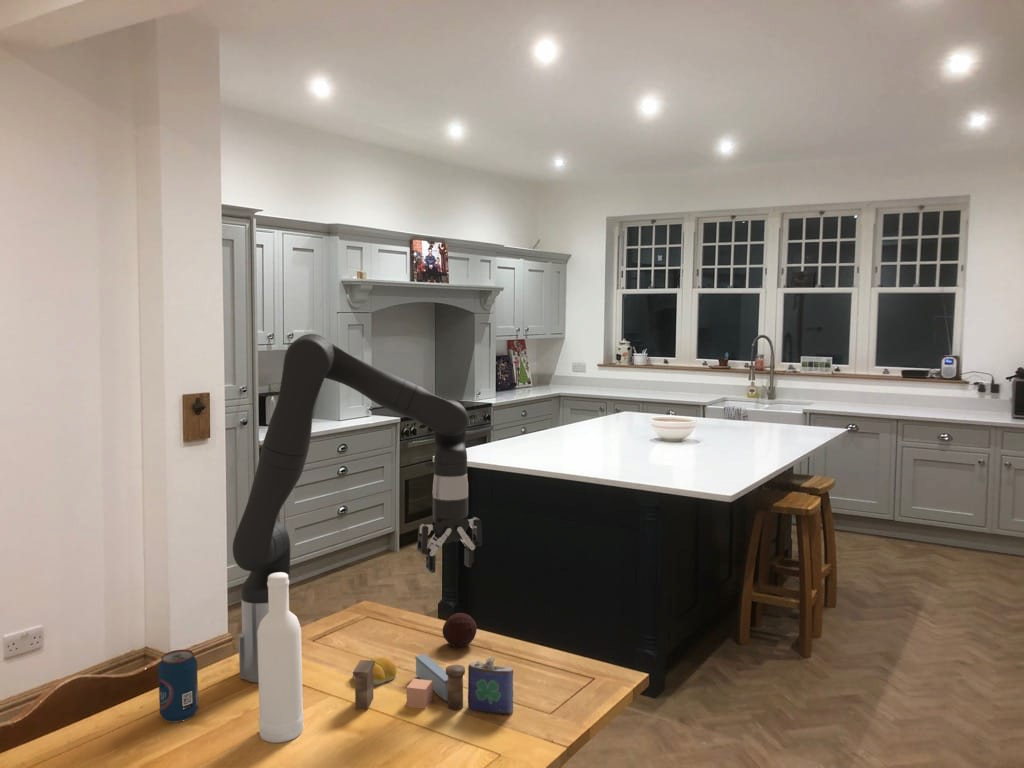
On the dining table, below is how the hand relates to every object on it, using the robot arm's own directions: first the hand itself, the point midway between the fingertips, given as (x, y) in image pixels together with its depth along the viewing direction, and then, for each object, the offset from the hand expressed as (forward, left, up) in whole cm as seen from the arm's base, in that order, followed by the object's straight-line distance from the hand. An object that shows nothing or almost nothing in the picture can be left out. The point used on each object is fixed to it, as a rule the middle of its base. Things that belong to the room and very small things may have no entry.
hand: (450, 569), depth 173 cm
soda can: (-50, -22, -24) cm, 59 cm away
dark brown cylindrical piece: (+3, -15, -23) cm, 28 cm away
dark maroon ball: (0, +15, -24) cm, 28 cm away
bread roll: (-16, -3, -24) cm, 29 cm away
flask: (+10, -16, -24) cm, 30 cm away
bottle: (-28, -27, -24) cm, 45 cm away
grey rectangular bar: (-2, -7, -23) cm, 24 cm away
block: (-4, -13, -23) cm, 27 cm away
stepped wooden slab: (-15, -15, -23) cm, 31 cm away
